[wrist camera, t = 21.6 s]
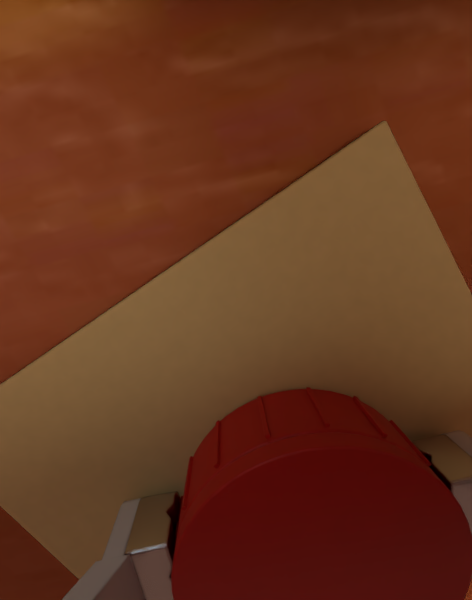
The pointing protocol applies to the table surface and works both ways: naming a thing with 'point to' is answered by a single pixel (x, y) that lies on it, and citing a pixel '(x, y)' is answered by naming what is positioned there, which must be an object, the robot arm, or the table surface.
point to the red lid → (316, 509)
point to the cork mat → (244, 347)
